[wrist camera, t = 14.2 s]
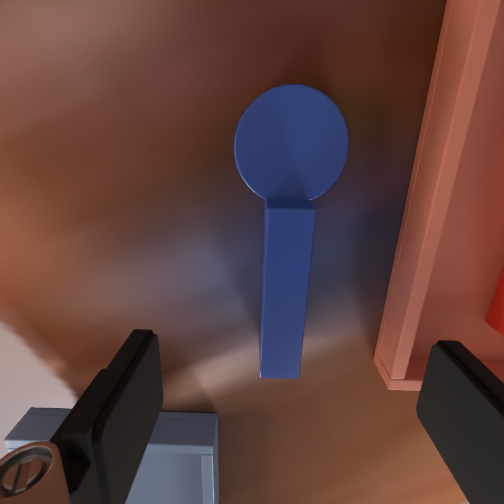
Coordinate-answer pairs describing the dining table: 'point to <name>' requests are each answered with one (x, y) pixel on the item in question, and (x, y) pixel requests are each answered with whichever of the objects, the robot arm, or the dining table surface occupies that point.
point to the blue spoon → (288, 205)
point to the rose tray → (452, 206)
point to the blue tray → (152, 455)
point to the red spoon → (497, 307)
